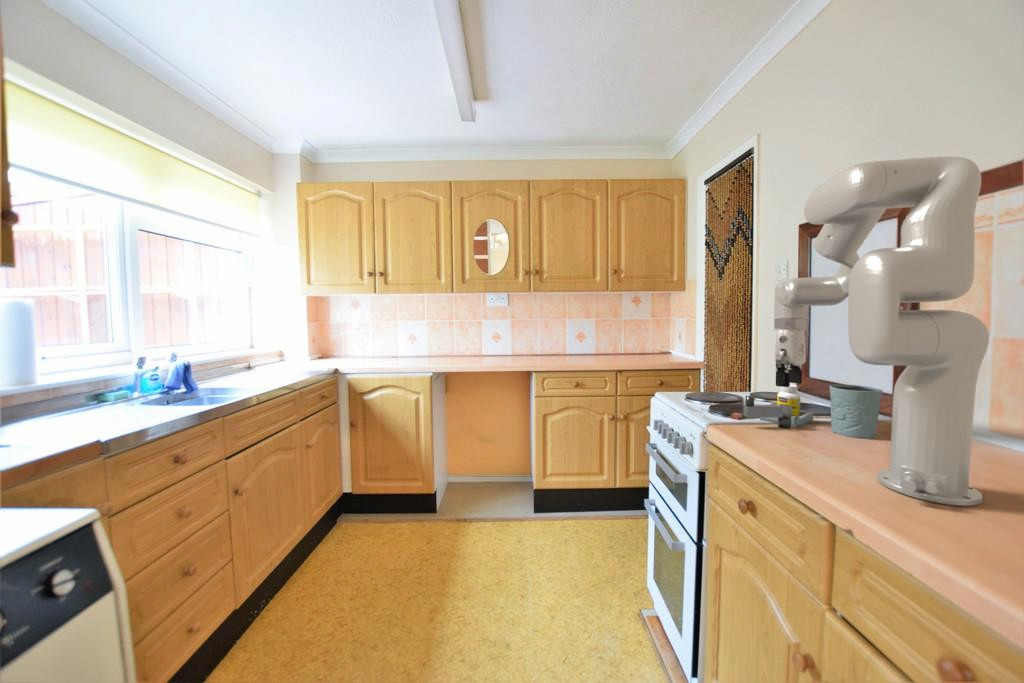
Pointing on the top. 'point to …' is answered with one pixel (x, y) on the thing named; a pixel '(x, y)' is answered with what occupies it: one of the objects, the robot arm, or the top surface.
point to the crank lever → (766, 409)
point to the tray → (794, 419)
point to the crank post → (782, 421)
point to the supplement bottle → (790, 399)
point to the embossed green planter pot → (855, 410)
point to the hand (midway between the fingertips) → (788, 384)
